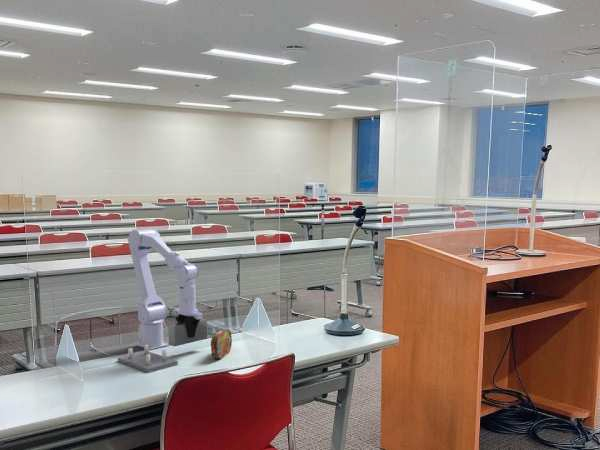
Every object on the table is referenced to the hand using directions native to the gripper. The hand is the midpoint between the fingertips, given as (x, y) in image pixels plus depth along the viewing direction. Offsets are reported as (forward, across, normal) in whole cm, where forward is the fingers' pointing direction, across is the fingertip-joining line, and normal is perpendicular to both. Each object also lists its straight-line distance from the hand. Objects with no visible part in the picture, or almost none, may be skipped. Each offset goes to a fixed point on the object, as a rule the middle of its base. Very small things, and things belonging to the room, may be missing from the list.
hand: (188, 336), depth 190 cm
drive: (+2, 0, 0) cm, 2 cm away
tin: (+6, -11, -6) cm, 14 cm away
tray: (+6, +1, +16) cm, 17 cm away
